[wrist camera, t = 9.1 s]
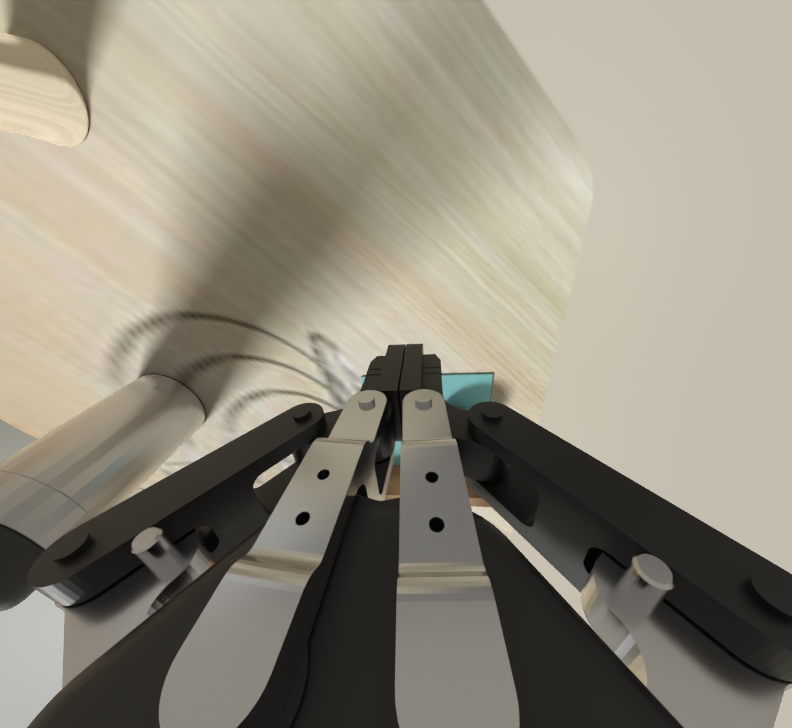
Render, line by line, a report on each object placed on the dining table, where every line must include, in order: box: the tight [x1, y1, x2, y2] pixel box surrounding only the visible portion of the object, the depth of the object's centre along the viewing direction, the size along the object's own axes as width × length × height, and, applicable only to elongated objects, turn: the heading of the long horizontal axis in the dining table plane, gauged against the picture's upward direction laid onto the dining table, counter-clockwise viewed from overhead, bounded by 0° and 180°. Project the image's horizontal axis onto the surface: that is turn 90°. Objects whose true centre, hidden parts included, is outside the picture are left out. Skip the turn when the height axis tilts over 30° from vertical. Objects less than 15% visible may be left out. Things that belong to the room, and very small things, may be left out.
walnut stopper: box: [385, 465, 491, 507], centre depth 36 cm, size 16×2×4 cm, turn 95°
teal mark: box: [361, 374, 493, 465], centre depth 34 cm, size 14×14×1 cm
